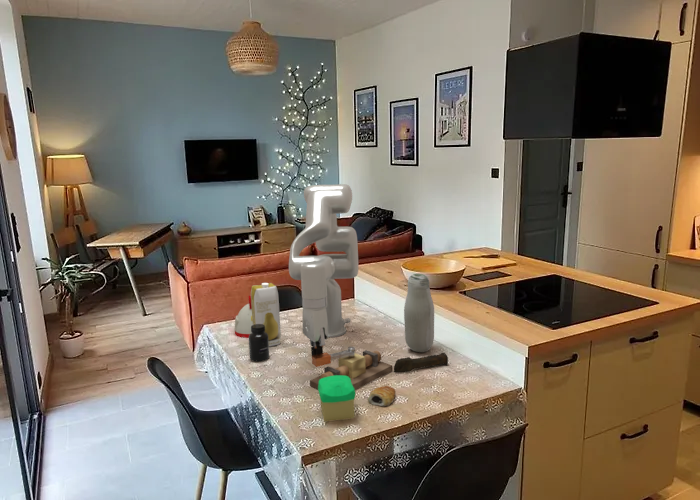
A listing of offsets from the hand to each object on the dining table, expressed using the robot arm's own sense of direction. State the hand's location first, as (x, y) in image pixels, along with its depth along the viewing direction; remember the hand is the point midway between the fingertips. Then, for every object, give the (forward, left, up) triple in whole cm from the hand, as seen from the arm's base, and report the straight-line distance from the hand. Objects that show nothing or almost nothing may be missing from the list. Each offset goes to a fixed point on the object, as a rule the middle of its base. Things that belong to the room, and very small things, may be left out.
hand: (317, 358), depth 158 cm
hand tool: (-29, +18, -8) cm, 35 cm away
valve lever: (-3, +4, 0) cm, 6 cm away
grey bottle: (-41, +8, -8) cm, 43 cm away
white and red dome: (-13, -55, -8) cm, 57 cm away
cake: (+9, +18, -8) cm, 22 cm away
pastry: (-5, +22, -8) cm, 24 cm away
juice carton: (-9, -39, -8) cm, 41 cm away
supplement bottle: (+1, -30, -8) cm, 31 cm away
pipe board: (-9, +6, -8) cm, 13 cm away
